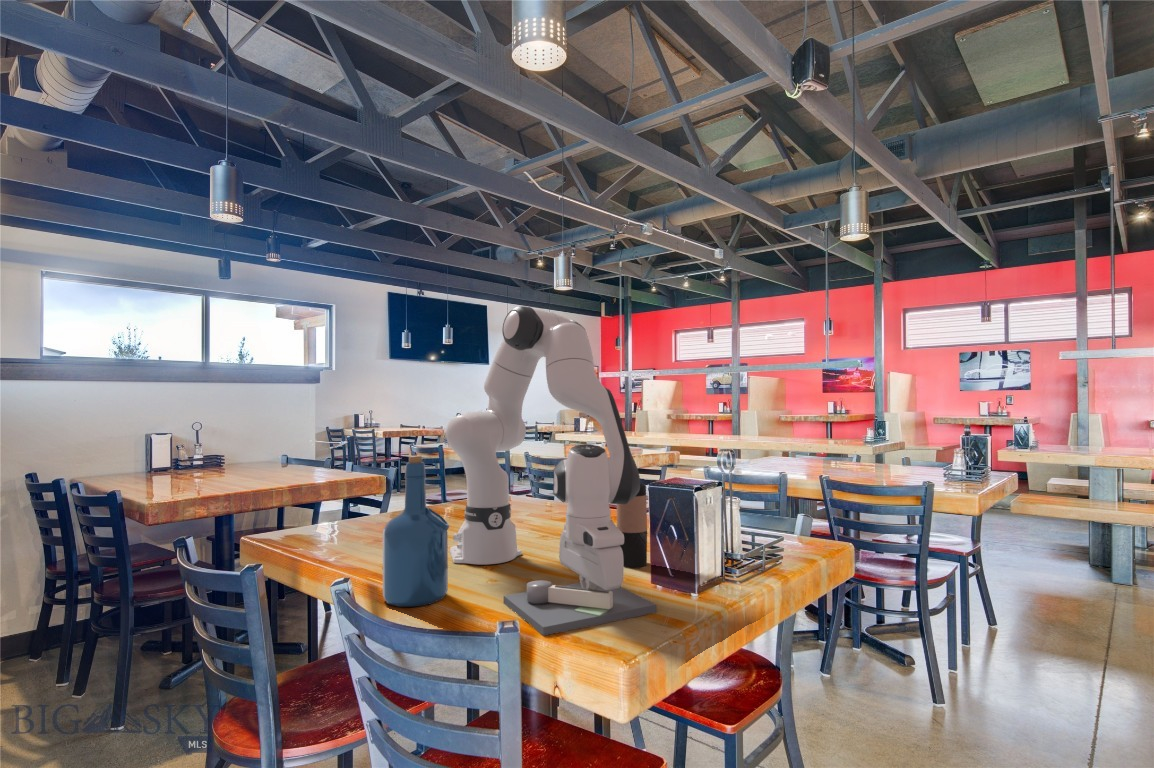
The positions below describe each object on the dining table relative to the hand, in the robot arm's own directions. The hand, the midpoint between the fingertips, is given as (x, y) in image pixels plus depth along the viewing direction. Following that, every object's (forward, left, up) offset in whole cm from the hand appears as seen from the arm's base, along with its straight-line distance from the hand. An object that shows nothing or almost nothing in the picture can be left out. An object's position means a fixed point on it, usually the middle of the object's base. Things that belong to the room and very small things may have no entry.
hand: (588, 599), depth 116 cm
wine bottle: (-25, -28, -2) cm, 37 cm away
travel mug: (-25, +26, -2) cm, 36 cm away
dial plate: (-3, -1, -2) cm, 4 cm away
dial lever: (-1, -4, 0) cm, 4 cm away
